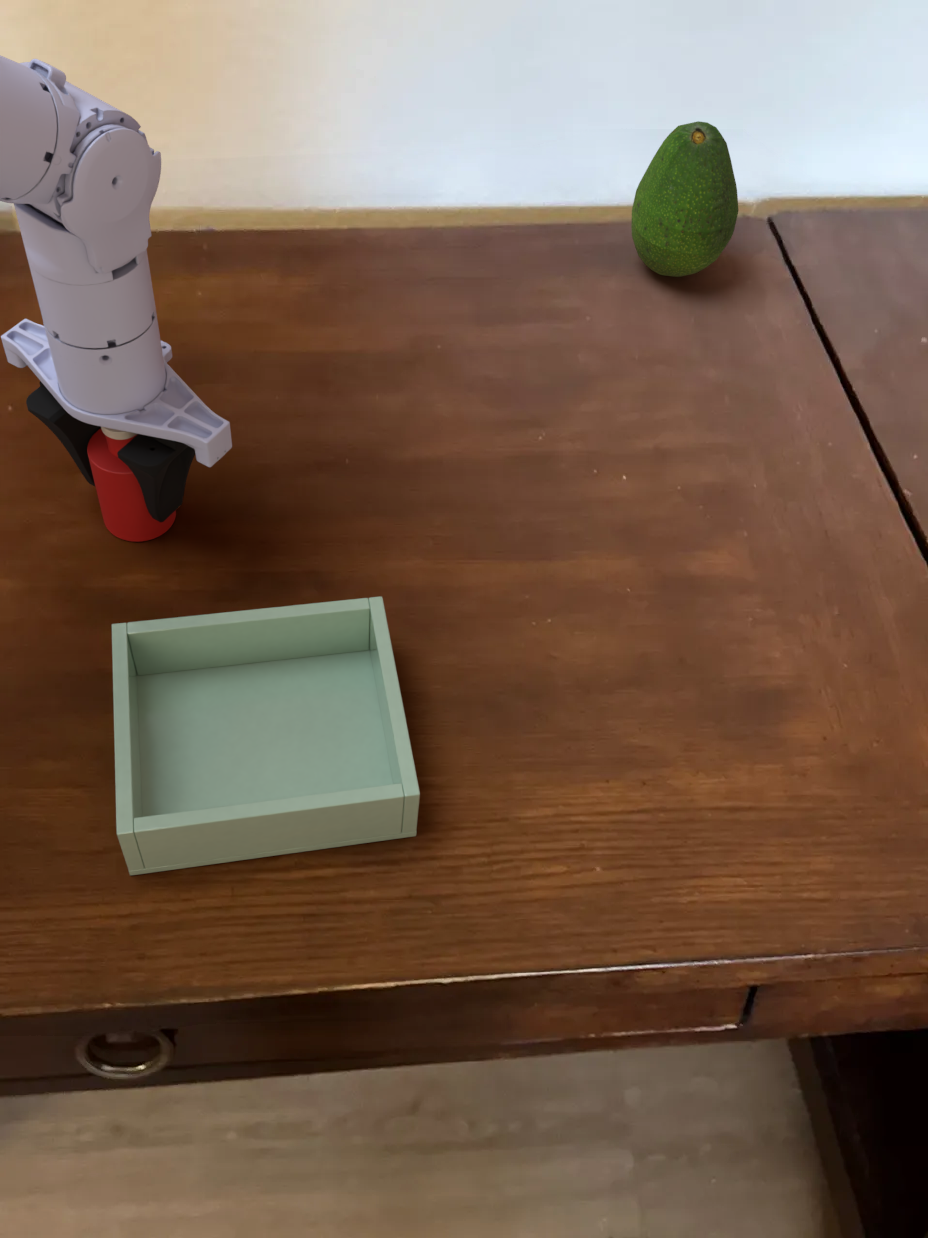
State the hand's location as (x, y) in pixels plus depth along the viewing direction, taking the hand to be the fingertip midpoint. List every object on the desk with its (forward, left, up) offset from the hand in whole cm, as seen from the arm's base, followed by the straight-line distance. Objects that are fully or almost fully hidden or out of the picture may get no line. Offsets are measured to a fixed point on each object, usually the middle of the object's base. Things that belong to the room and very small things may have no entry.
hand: (136, 493), depth 74 cm
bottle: (0, 0, -2) cm, 2 cm away
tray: (+6, -18, -2) cm, 19 cm away
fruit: (+41, +21, -2) cm, 46 cm away
